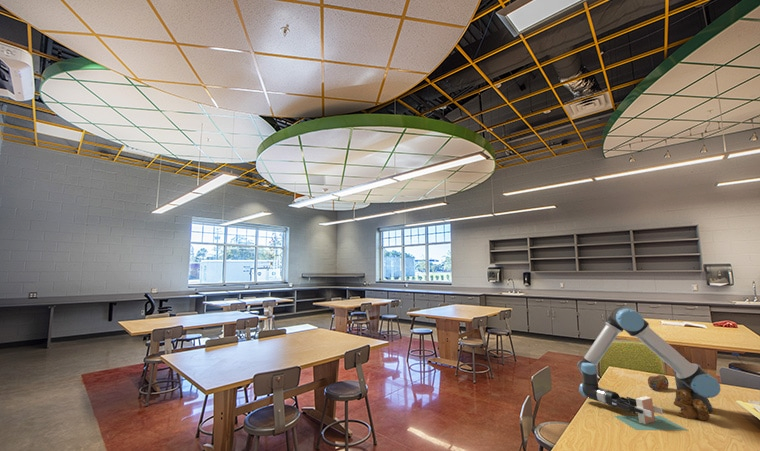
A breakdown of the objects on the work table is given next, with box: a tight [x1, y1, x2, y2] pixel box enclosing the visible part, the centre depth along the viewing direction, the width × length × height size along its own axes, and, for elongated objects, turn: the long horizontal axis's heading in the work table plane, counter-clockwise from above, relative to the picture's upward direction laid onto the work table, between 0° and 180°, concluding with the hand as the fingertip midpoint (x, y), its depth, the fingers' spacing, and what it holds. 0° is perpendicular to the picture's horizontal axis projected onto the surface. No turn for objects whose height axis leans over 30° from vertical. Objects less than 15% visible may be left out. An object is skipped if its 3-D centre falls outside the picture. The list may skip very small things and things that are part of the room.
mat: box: [613, 415, 688, 431], centre depth 159 cm, size 24×16×1 cm, turn 87°
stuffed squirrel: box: [673, 389, 711, 421], centre depth 166 cm, size 10×14×13 cm
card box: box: [635, 395, 656, 424], centre depth 160 cm, size 8×3×11 cm, turn 112°
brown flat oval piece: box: [647, 374, 669, 391], centre depth 207 cm, size 15×3×8 cm, turn 105°
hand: (656, 412), depth 156 cm, fingers closed on card box, 8 cm apart
